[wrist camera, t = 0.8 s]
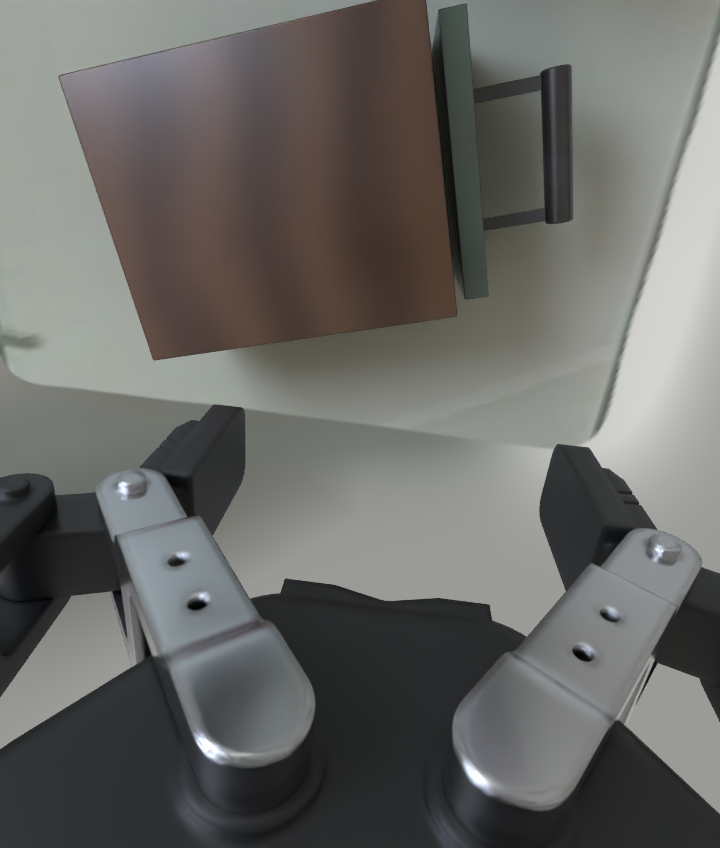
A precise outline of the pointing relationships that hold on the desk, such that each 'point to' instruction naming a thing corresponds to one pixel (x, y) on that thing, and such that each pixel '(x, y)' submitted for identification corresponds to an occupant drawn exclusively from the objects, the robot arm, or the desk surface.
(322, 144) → the cabinet
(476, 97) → the drawer
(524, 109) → the desk surface
